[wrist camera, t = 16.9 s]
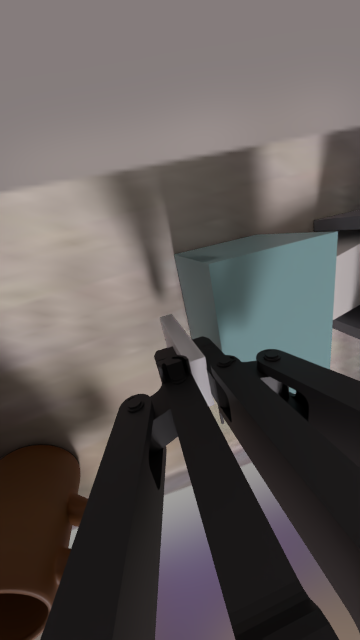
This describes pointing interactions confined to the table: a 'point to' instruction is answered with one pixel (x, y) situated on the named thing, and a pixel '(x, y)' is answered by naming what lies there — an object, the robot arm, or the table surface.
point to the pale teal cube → (263, 294)
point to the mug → (35, 534)
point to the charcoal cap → (355, 320)
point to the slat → (347, 272)
